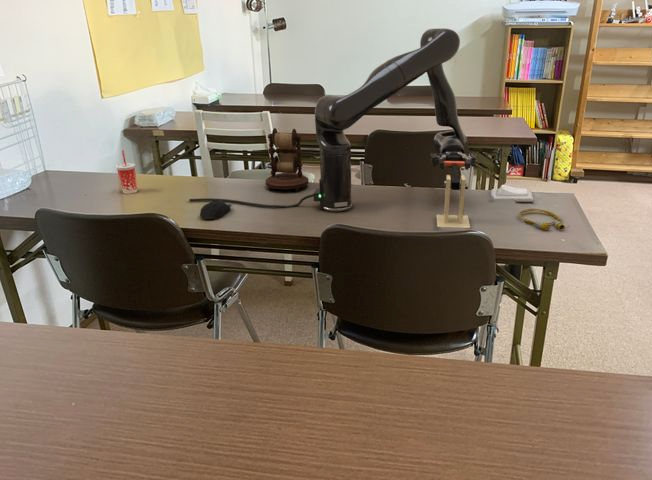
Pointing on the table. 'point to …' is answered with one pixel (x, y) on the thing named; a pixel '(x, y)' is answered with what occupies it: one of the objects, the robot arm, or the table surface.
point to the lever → (455, 173)
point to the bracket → (459, 219)
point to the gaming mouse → (214, 210)
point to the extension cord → (541, 224)
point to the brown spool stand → (285, 161)
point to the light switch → (513, 194)
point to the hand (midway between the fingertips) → (455, 166)
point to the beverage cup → (127, 176)
